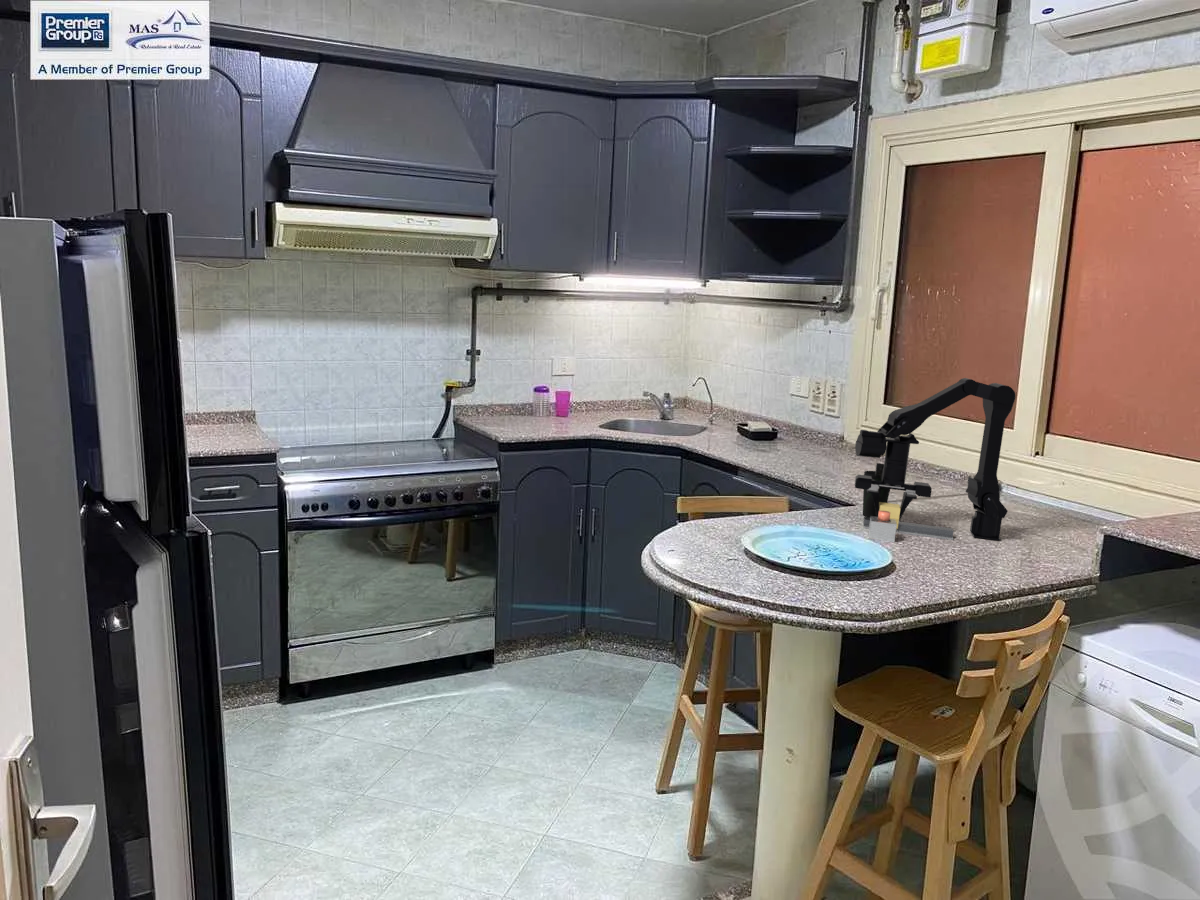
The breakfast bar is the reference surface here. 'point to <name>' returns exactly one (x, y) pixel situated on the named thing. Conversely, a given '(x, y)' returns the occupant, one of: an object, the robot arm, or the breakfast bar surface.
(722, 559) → the breakfast bar surface
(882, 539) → the cabinet
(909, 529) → the rail
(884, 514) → the button
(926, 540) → the breakfast bar surface
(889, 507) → the carriage
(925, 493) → the robot arm
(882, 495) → the cup
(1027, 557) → the breakfast bar surface
